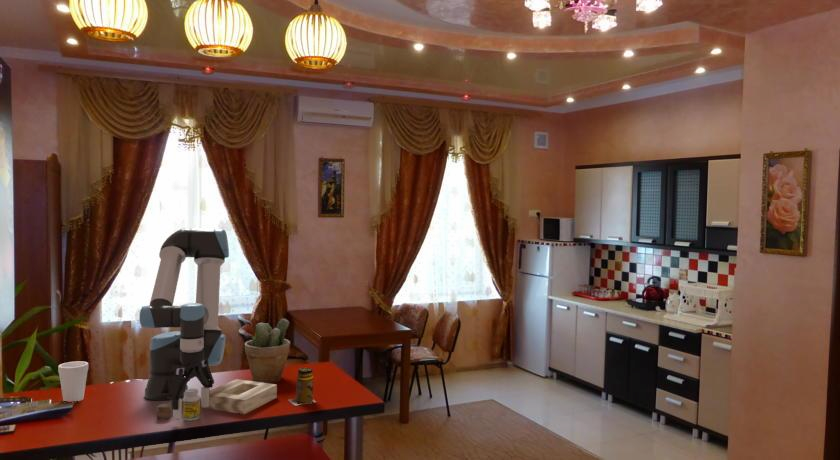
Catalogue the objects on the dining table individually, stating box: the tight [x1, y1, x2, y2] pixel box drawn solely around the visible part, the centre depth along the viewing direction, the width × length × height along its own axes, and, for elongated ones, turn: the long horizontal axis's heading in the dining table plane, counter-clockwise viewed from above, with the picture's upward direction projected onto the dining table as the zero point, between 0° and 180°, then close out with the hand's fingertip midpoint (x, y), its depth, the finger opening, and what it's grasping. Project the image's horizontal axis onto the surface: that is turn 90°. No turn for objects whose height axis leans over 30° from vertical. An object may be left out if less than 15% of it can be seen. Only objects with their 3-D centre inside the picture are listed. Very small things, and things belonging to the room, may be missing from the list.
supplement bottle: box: [182, 388, 201, 422], centre depth 204 cm, size 5×5×10 cm
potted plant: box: [244, 318, 291, 384], centre depth 251 cm, size 18×19×25 cm
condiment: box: [288, 367, 317, 406], centre depth 224 cm, size 7×8×12 cm
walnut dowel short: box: [156, 403, 172, 420], centre depth 205 cm, size 4×4×4 cm
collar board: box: [201, 378, 278, 415], centre depth 222 cm, size 18×20×5 cm
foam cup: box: [57, 360, 89, 403], centre depth 221 cm, size 10×9×13 cm
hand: (191, 412), depth 204 cm, fingers open, 13 cm apart
